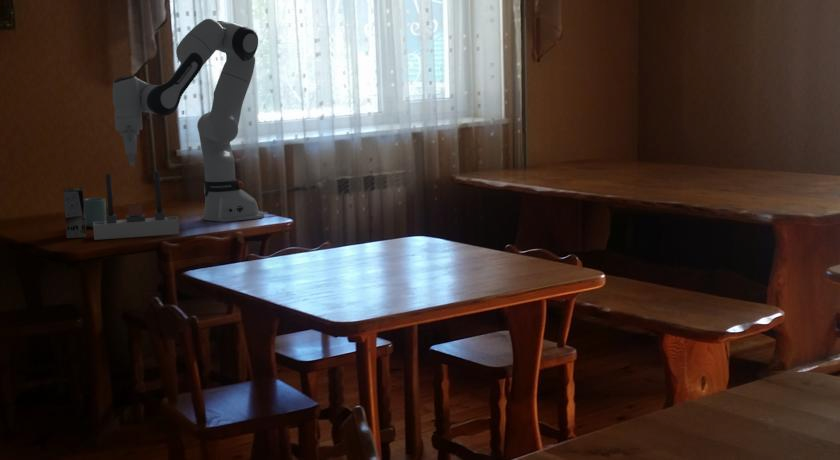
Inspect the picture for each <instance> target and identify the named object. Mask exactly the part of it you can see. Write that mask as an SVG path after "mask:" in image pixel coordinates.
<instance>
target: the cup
mask: <svg viewBox="0 0 840 460" xmlns="http://www.w3.org/2000/svg"><path fill="white" fill-rule="evenodd" d="M106 201H107V200H106V198H105V197H88V198H84V209H85V223H86V226H87V227H89V228H93V223H94V222H98V221H107V203H106Z"/></svg>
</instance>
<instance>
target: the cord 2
mask: <svg viewBox="0 0 840 460" xmlns="http://www.w3.org/2000/svg"><path fill="white" fill-rule="evenodd" d="M153 172H154V185H155V198H156V200H155V201H156V211H154V218H155V219H156V220H165V217H166V216H165V210H163V209H162V193H161V191H162V190H161V177H160V176H161V175H160V171H153Z"/></svg>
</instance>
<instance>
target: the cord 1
mask: <svg viewBox="0 0 840 460" xmlns="http://www.w3.org/2000/svg"><path fill="white" fill-rule="evenodd" d="M105 185H106V197H107V210H108V214H106V221H107V224H108V223H116V220H117V214H116V213H114V203H113V200H114V199H113V190H112V189H113V188H112V175H111V174H110V173H107V174H105Z"/></svg>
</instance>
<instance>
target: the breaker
mask: <svg viewBox="0 0 840 460" xmlns="http://www.w3.org/2000/svg"><path fill="white" fill-rule="evenodd" d="M142 206H143V204H139V205H128V215H129V216H137V215H142V214H143V207H142Z"/></svg>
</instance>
